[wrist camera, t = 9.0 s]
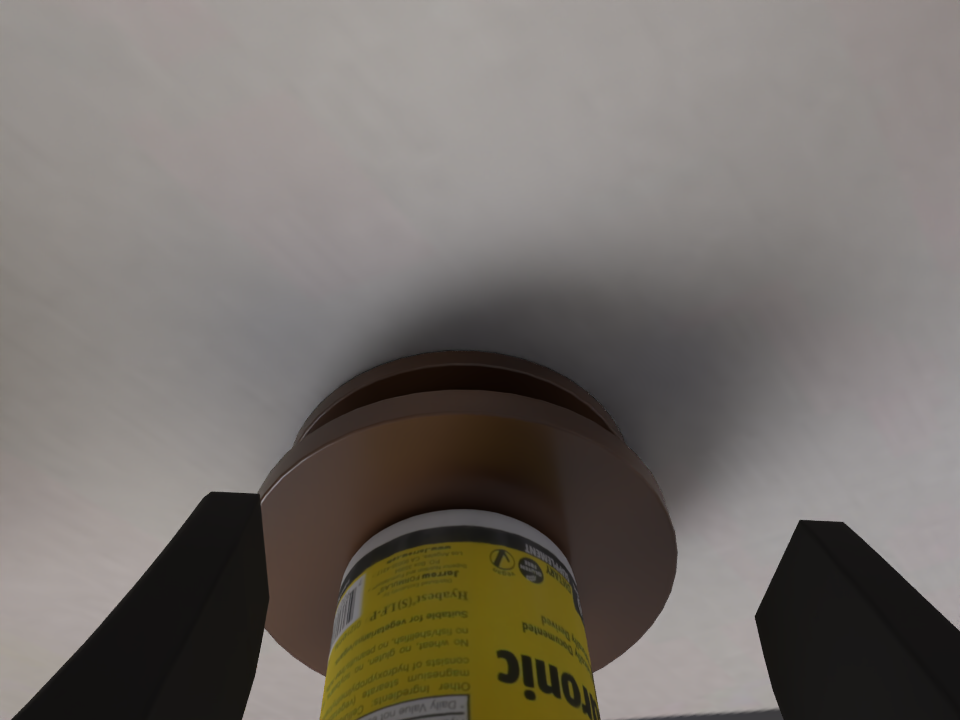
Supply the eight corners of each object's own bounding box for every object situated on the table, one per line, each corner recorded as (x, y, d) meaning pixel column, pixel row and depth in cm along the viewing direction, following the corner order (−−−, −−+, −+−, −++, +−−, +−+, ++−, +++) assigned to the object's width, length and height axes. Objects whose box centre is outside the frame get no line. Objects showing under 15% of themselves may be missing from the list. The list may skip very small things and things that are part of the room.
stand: (692, 345, 17) (732, 427, 15) (609, 619, 23) (628, 712, 20) (254, 316, 17) (218, 397, 14) (277, 606, 22) (255, 701, 20)
